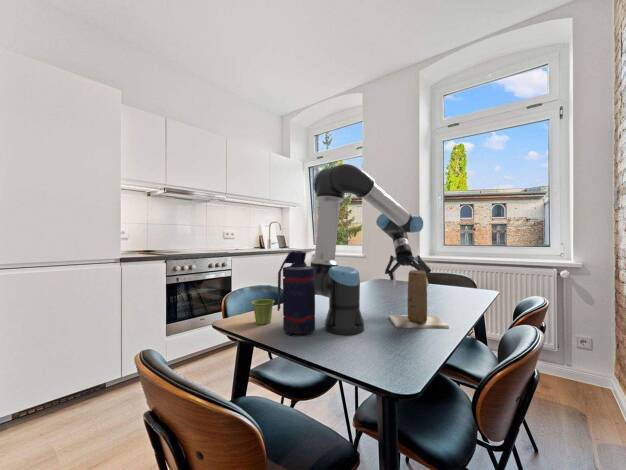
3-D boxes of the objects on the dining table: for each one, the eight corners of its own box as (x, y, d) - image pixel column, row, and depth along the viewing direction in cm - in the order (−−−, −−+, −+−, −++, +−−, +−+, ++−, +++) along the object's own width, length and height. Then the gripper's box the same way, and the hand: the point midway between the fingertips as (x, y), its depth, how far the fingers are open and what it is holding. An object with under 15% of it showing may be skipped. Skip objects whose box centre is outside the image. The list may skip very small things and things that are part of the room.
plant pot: (247, 324, 123) (246, 303, 122) (259, 318, 131) (259, 298, 131) (267, 327, 119) (267, 305, 119) (278, 320, 128) (278, 300, 128)
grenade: (315, 326, 119) (315, 250, 119) (314, 337, 107) (314, 252, 107) (280, 326, 120) (279, 250, 119) (275, 337, 108) (275, 252, 107)
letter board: (396, 327, 117) (396, 324, 117) (388, 317, 131) (388, 314, 131) (448, 328, 116) (448, 325, 116) (436, 317, 130) (436, 315, 130)
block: (427, 324, 118) (427, 272, 118) (407, 322, 120) (407, 272, 120) (426, 316, 128) (426, 269, 128) (408, 315, 130) (407, 268, 130)
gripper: (377, 244, 146) (383, 280, 131) (430, 244, 144) (442, 280, 129) (376, 254, 151) (381, 290, 136) (427, 254, 150) (438, 290, 135)
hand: (411, 285), depth 133 cm, fingers open, 13 cm apart
